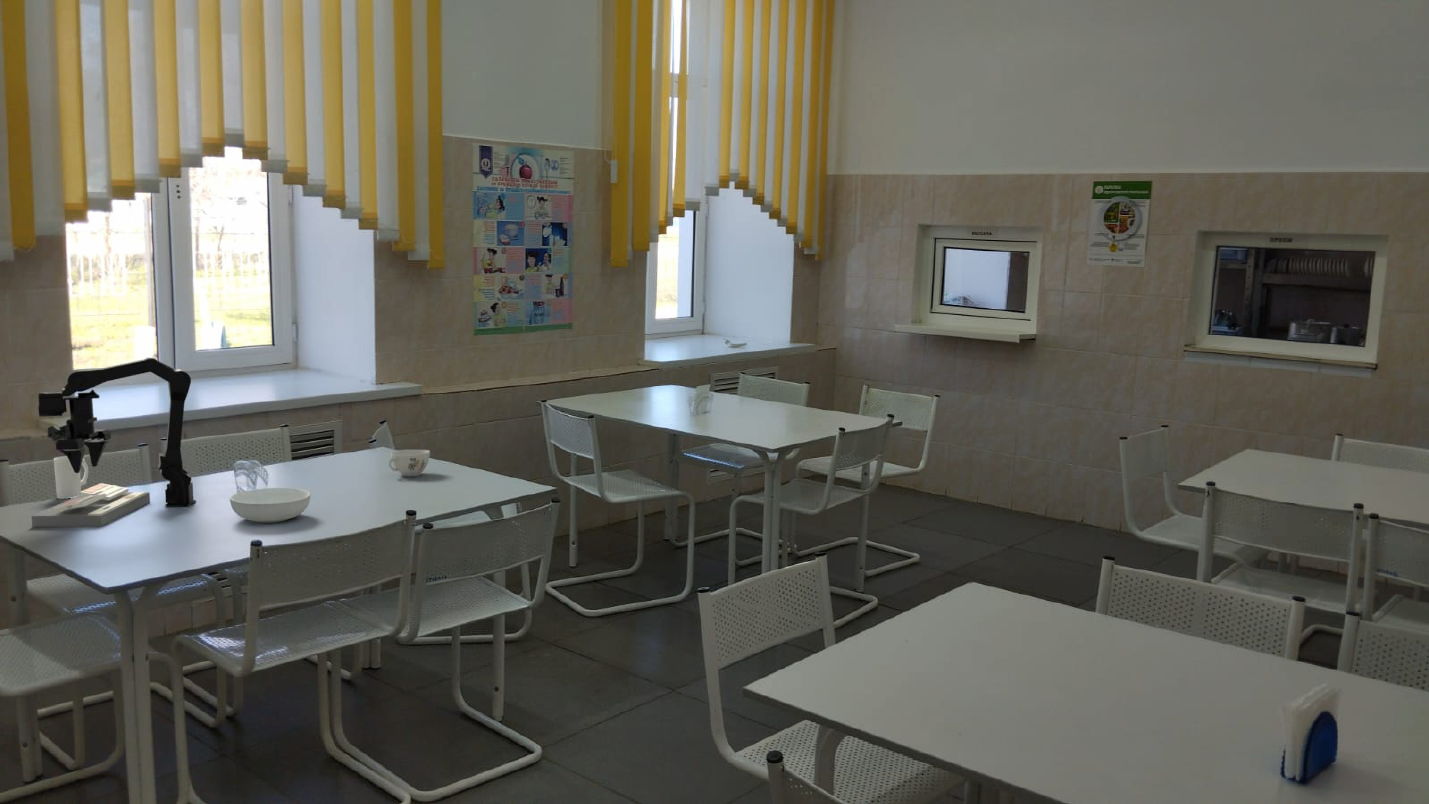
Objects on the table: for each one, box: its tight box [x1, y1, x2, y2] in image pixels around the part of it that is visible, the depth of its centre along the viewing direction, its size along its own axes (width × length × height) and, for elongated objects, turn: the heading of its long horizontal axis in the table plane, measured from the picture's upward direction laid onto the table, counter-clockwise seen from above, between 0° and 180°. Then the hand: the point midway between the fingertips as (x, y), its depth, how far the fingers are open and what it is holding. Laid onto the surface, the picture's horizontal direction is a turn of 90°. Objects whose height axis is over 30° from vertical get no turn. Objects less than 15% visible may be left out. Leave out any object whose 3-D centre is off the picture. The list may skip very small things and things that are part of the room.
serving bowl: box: [229, 487, 311, 524], centre depth 312 cm, size 21×21×7 cm
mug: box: [53, 455, 89, 500], centre depth 338 cm, size 10×7×12 cm, turn 156°
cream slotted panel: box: [80, 482, 129, 500], centre depth 322 cm, size 8×12×1 cm, turn 4°
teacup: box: [388, 449, 431, 478], centre depth 375 cm, size 15×12×8 cm
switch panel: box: [31, 491, 151, 528], centre depth 316 cm, size 18×30×4 cm, turn 4°
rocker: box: [54, 493, 106, 512], centre depth 308 cm, size 8×12×1 cm, turn 4°
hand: (85, 469), depth 316 cm, fingers open, 9 cm apart
